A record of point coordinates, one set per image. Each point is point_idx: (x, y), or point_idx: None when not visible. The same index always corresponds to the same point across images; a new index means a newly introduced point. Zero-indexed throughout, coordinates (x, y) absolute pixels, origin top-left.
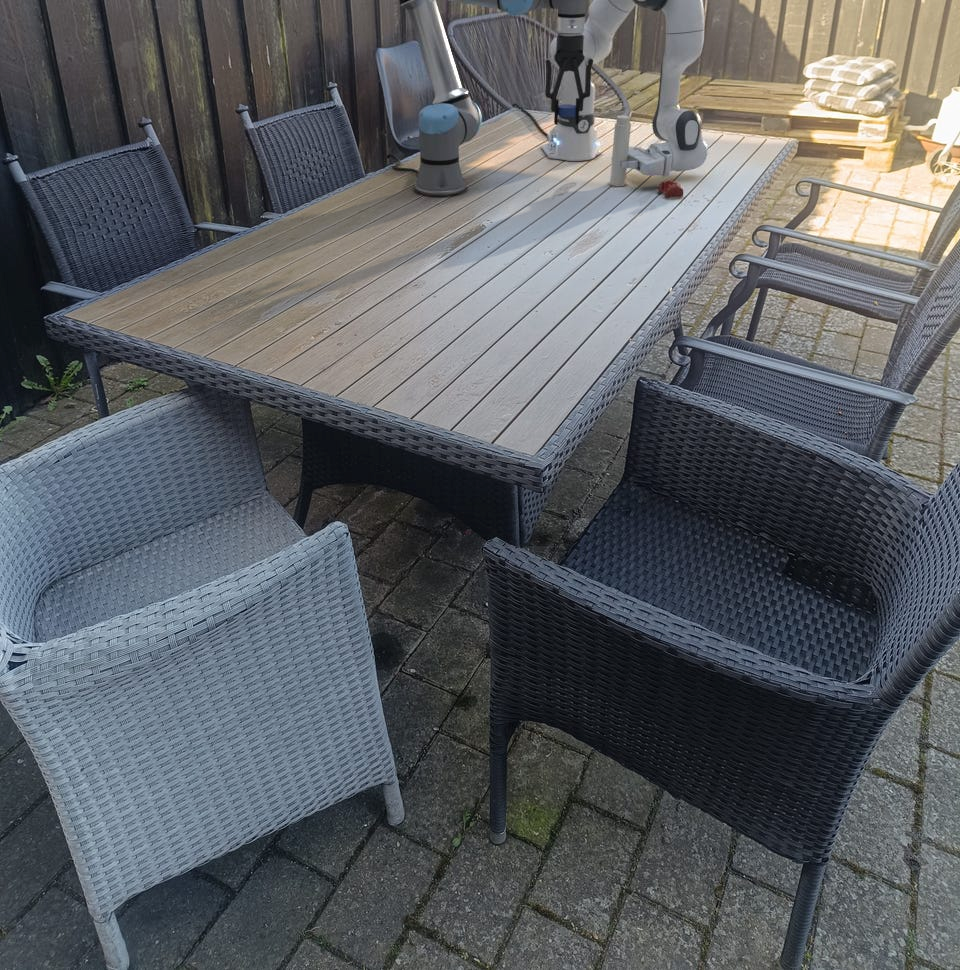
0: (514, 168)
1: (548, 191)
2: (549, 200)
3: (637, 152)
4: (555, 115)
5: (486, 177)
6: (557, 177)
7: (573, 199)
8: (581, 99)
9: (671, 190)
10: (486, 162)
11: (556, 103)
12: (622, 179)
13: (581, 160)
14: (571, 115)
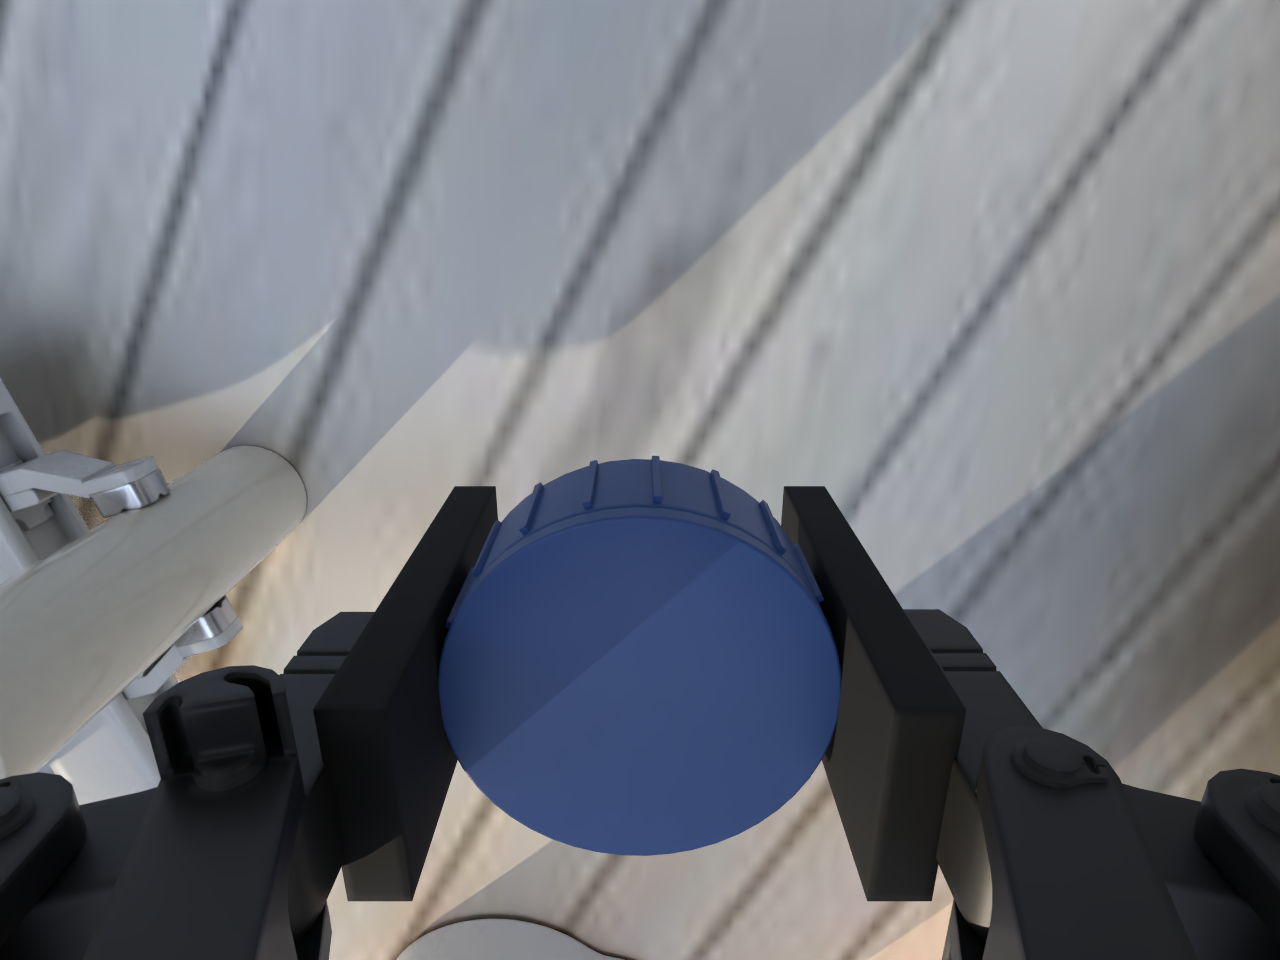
0: None
1: (743, 352)
2: (768, 125)
3: None
4: (860, 544)
5: (1095, 662)
6: None
7: (584, 145)
8: (256, 701)
9: None
10: None
11: (924, 662)
12: (200, 464)
13: (467, 921)
14: (564, 480)
